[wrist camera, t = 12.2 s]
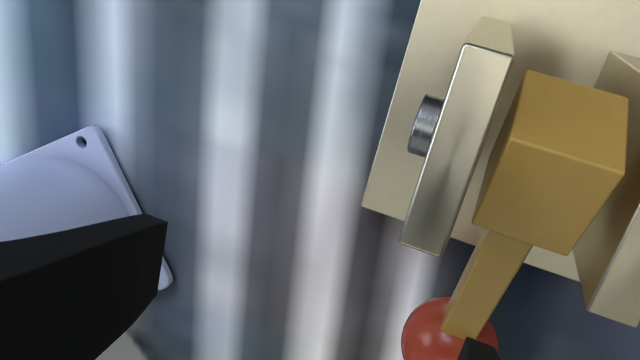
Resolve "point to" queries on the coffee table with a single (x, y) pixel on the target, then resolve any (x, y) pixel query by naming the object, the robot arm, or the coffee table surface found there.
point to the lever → (528, 203)
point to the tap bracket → (488, 117)
